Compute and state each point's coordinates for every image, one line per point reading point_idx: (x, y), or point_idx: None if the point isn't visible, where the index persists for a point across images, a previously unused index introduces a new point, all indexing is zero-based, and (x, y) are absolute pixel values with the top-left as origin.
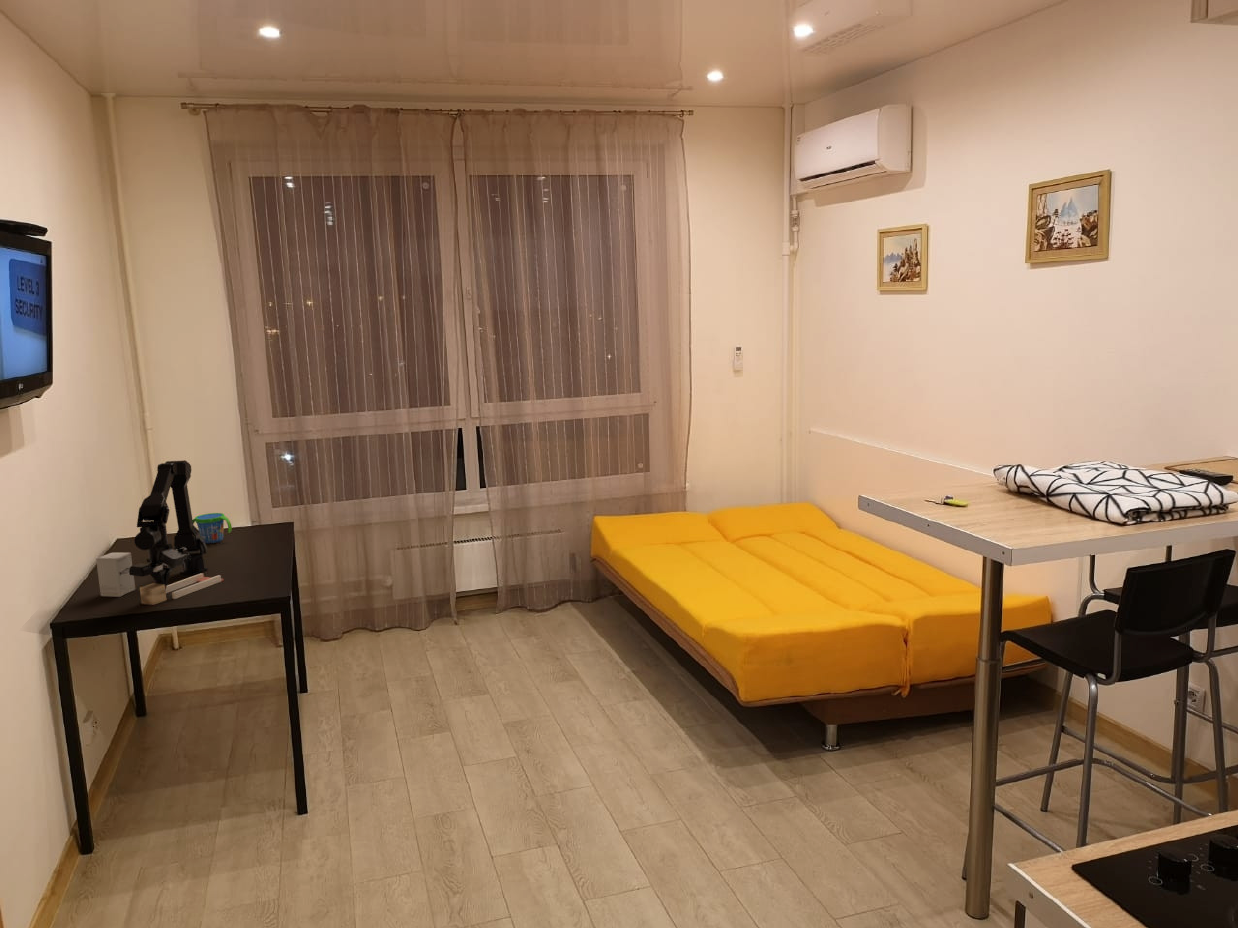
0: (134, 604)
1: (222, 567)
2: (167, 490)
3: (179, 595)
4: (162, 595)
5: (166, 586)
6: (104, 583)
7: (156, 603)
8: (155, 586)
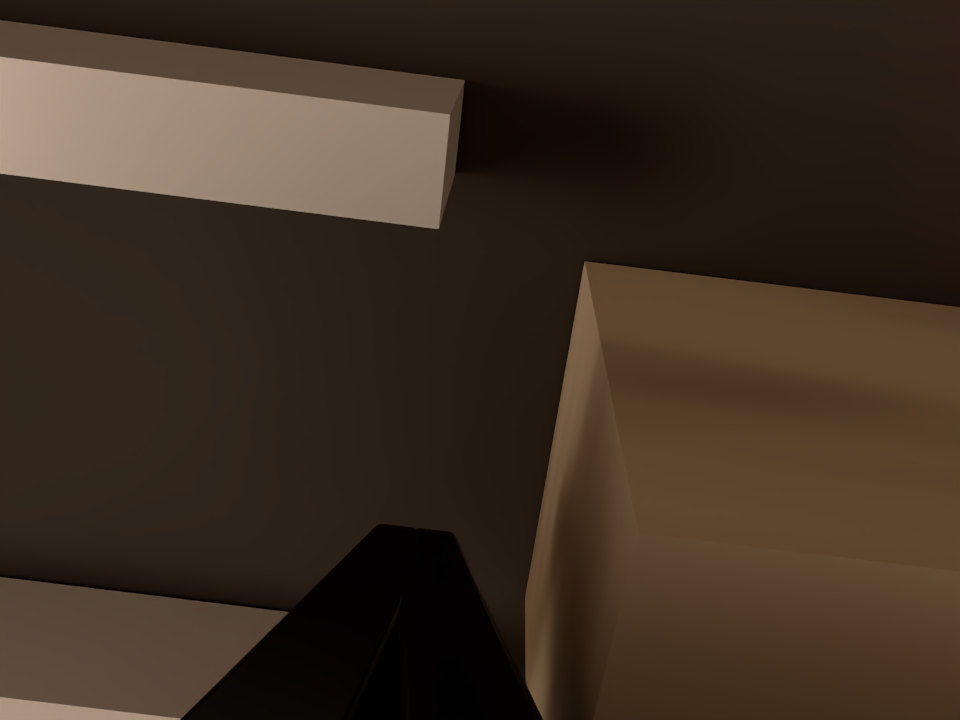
0: None
1: None
2: None
3: (278, 64)
4: (732, 344)
5: (338, 563)
6: None
7: (919, 304)
8: (948, 717)
